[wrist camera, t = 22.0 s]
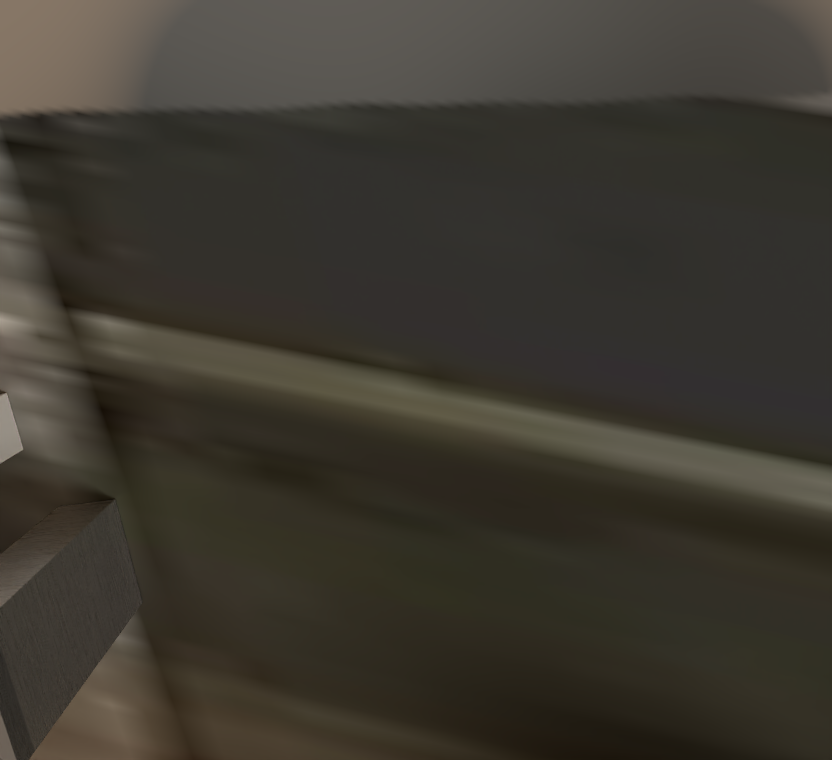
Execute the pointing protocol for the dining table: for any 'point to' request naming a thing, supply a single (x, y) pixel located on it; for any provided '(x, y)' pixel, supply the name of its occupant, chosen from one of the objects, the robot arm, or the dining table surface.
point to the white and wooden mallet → (8, 431)
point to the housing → (59, 616)
